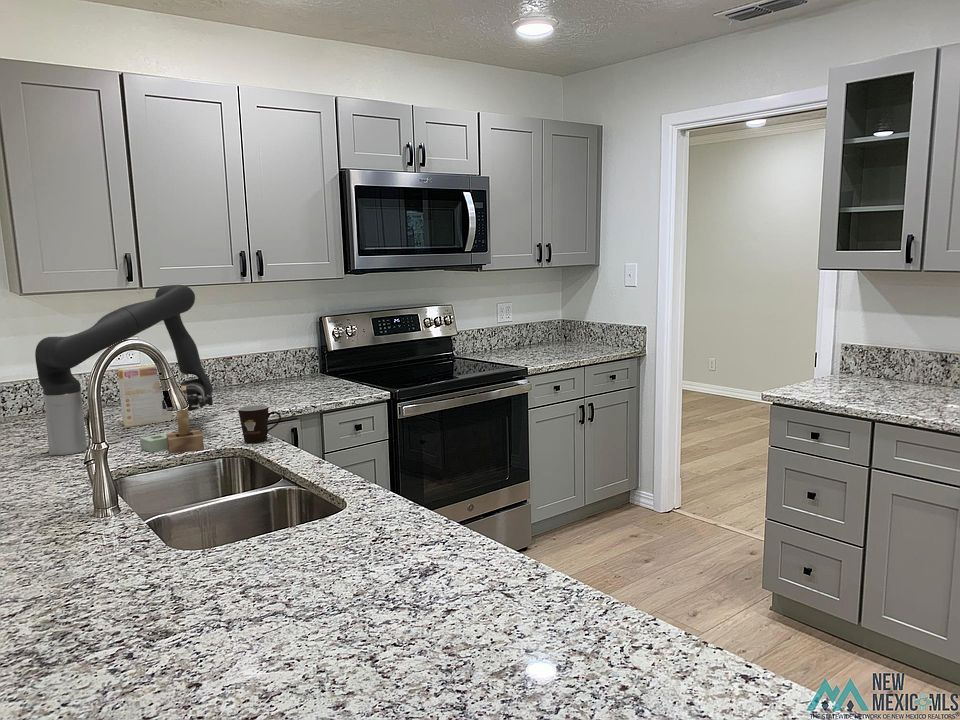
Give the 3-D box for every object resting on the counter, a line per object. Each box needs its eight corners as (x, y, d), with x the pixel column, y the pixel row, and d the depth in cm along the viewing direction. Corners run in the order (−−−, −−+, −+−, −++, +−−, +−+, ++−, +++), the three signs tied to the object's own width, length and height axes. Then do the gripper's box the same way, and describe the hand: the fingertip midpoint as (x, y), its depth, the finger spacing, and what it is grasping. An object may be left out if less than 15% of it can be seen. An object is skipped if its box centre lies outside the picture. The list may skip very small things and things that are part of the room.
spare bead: (150, 452, 202) (149, 441, 202) (140, 448, 207) (139, 438, 206) (175, 447, 207) (174, 436, 207) (164, 443, 212) (164, 433, 211)
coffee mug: (234, 443, 210) (231, 409, 209) (255, 436, 217) (253, 404, 216) (263, 446, 204) (261, 412, 203) (284, 439, 212) (282, 406, 211)
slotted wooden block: (169, 453, 200) (168, 439, 199) (167, 447, 208) (166, 433, 207) (204, 449, 204) (202, 435, 203) (200, 442, 212) (199, 429, 211)
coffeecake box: (169, 418, 251) (164, 363, 249) (173, 421, 245) (168, 365, 243) (122, 424, 244) (116, 367, 241) (125, 427, 238) (119, 369, 235)
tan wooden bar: (180, 450, 204) (174, 387, 201) (179, 447, 206) (173, 386, 204) (191, 448, 205) (186, 386, 203) (190, 446, 208) (185, 385, 205)
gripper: (165, 387, 226) (158, 395, 210) (213, 383, 230) (210, 391, 214) (168, 410, 227) (161, 420, 211) (215, 406, 231) (212, 415, 215)
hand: (185, 405), depth 213 cm, fingers open, 8 cm apart
